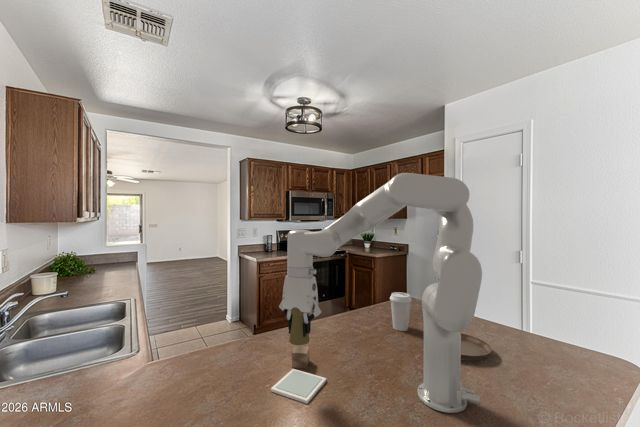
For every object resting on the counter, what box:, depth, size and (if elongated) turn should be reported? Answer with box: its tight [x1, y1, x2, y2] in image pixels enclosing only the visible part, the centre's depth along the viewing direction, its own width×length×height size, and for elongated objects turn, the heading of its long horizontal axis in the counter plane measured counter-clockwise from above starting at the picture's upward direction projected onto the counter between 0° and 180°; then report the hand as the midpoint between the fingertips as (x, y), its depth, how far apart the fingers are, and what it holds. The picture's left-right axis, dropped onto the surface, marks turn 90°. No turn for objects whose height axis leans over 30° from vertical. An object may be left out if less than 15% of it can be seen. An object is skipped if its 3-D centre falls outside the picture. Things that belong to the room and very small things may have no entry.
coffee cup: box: [389, 291, 412, 332], centre depth 129 cm, size 10×10×15 cm
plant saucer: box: [461, 332, 492, 362], centre depth 109 cm, size 21×21×3 cm
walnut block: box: [291, 345, 310, 369], centre depth 98 cm, size 5×5×5 cm
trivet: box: [270, 368, 327, 405], centre depth 86 cm, size 12×12×1 cm
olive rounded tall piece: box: [288, 307, 310, 346], centre depth 86 cm, size 6×6×11 cm
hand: (299, 333), depth 86 cm, fingers closed on olive rounded tall piece, 4 cm apart
